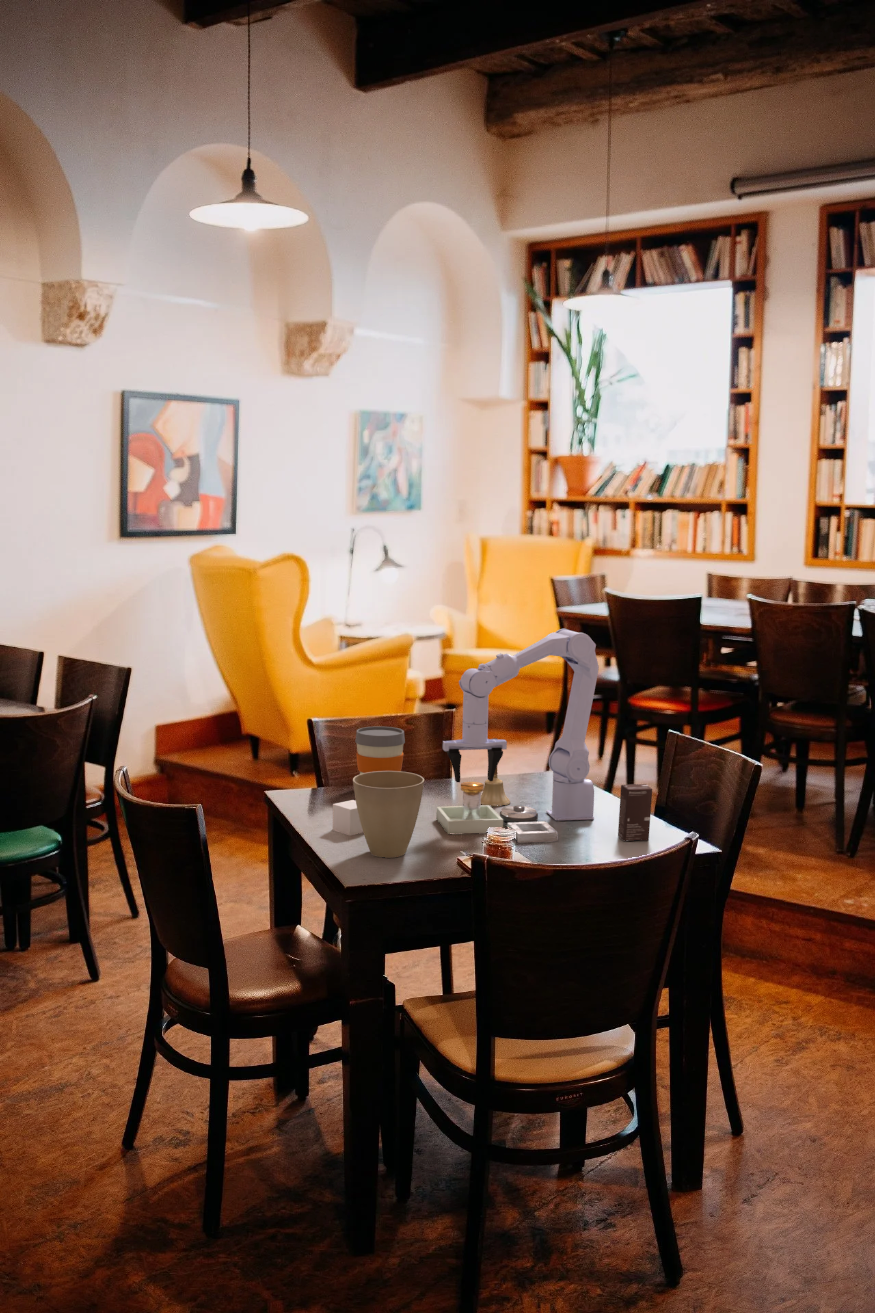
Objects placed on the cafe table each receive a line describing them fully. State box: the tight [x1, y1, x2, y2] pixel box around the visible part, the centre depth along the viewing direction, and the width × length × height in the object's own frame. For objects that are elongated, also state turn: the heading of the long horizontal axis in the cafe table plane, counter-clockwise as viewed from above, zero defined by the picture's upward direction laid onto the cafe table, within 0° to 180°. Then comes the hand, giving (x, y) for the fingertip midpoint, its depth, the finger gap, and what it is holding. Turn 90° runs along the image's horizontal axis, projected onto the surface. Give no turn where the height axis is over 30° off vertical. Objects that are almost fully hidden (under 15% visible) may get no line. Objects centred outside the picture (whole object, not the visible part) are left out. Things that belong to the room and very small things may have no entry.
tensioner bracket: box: [499, 804, 559, 844], centre depth 277 cm, size 9×20×4 cm, turn 12°
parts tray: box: [435, 805, 504, 835], centre depth 279 cm, size 13×13×3 cm
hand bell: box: [481, 737, 511, 807], centre depth 300 cm, size 8×8×16 cm
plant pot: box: [352, 770, 425, 859], centre depth 256 cm, size 15×15×16 cm
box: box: [617, 783, 653, 842], centre depth 271 cm, size 6×4×12 cm
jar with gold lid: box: [460, 781, 485, 820], centre depth 278 cm, size 5×5×9 cm
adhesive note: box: [332, 799, 364, 837], centre depth 273 cm, size 6×6×6 cm
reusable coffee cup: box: [354, 726, 406, 774], centre depth 310 cm, size 13×13×15 cm
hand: (473, 780), depth 279 cm, fingers open, 7 cm apart
